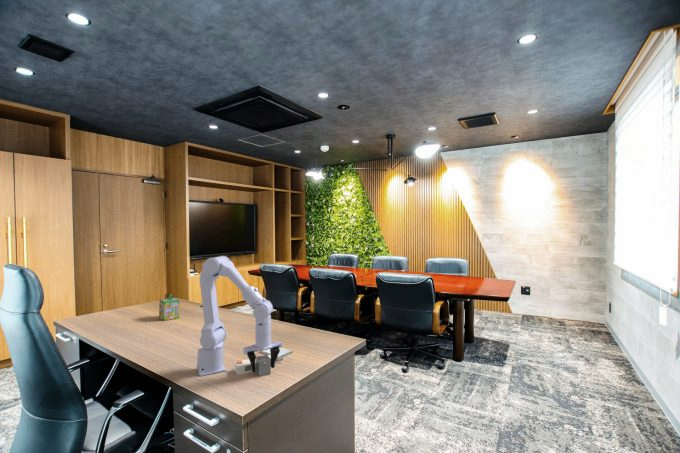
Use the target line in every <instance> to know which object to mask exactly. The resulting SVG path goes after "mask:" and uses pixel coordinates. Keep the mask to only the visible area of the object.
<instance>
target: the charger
mask: <svg viewBox="0 0 680 453" xmlns="http://www.w3.org/2000/svg"><path fill="white" fill-rule="evenodd" d="M271 370H272V368H271V359H270V358H269V357H268V355H266V354H263V355H258V356H256V371H255V373H256V374H257V375H258V377H261V376H265V375H270V374H271V373H272V372H271Z"/></svg>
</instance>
